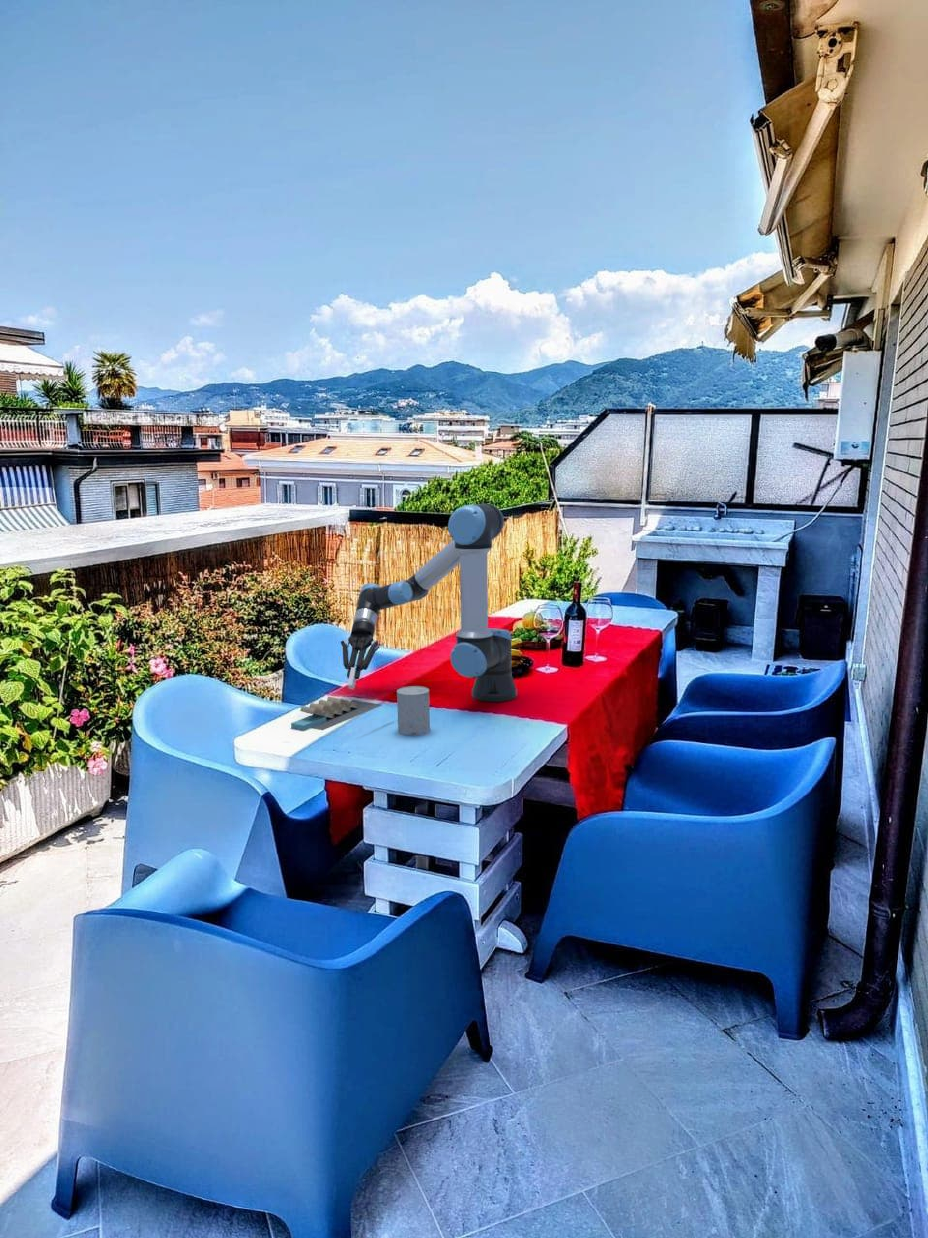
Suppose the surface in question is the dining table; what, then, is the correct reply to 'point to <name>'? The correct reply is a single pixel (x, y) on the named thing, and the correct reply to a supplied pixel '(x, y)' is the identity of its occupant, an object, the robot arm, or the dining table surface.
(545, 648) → the dining table surface
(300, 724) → the domino
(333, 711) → the domino
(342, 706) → the domino
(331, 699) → the domino
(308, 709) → the domino
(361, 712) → the mat
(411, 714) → the grey flat-topped cylinder
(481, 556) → the robot arm
